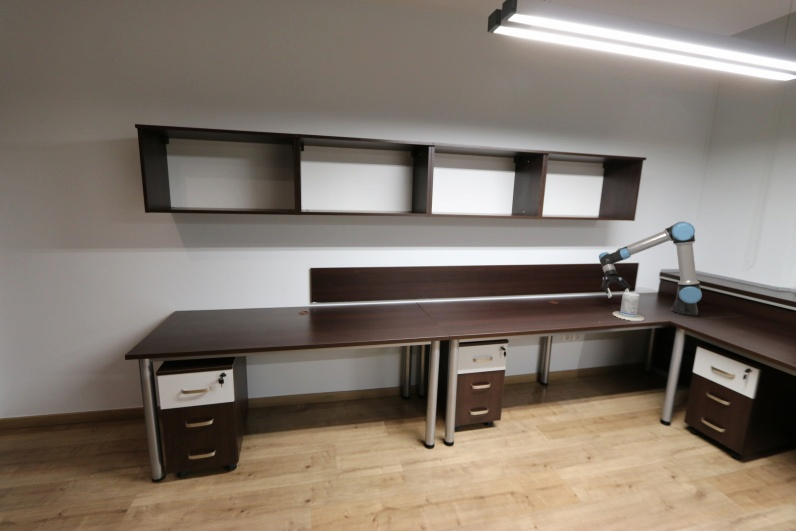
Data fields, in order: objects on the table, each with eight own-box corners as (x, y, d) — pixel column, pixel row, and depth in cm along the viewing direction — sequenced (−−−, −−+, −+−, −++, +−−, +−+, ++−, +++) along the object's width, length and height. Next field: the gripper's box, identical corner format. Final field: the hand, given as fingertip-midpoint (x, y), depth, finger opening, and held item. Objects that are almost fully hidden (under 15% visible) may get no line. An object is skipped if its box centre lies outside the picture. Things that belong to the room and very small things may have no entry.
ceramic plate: (625, 312, 259) (625, 310, 258) (650, 320, 242) (650, 318, 242) (606, 314, 252) (606, 312, 252) (631, 322, 236) (631, 320, 235)
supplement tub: (623, 312, 254) (626, 291, 251) (638, 315, 246) (642, 294, 244) (617, 314, 248) (620, 293, 245) (633, 318, 240) (636, 296, 238)
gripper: (624, 275, 272) (634, 300, 260) (590, 274, 271) (599, 299, 259) (629, 269, 266) (640, 295, 254) (595, 268, 265) (604, 294, 253)
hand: (619, 297), depth 257 cm, fingers open, 13 cm apart
